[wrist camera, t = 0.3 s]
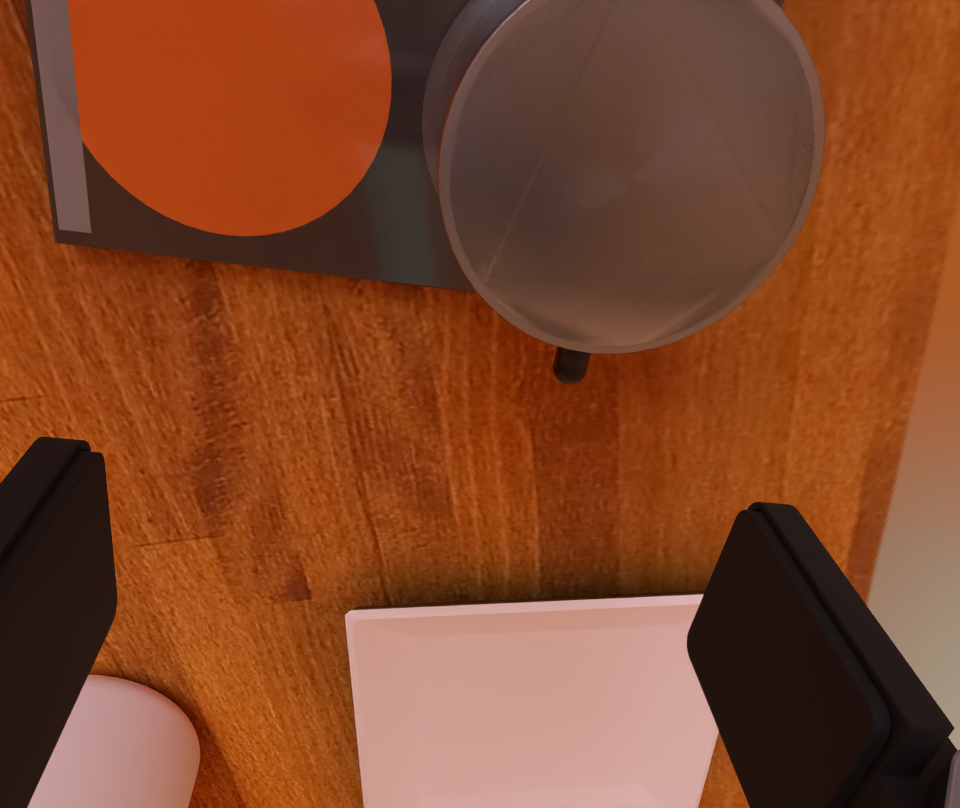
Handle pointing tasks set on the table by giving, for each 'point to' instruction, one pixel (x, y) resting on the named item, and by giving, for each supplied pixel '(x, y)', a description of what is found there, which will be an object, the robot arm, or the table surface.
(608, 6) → the pot
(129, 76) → the hob
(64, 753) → the cup
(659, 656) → the plate
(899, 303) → the table surface
